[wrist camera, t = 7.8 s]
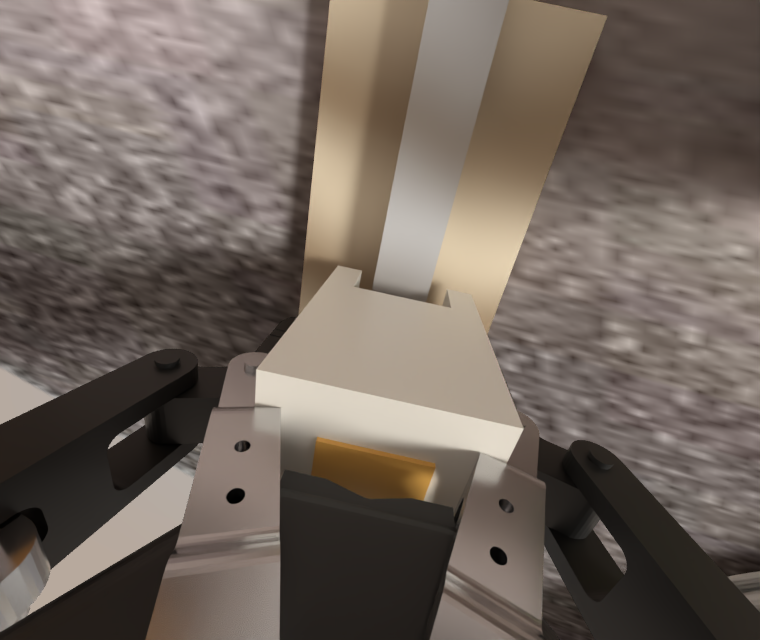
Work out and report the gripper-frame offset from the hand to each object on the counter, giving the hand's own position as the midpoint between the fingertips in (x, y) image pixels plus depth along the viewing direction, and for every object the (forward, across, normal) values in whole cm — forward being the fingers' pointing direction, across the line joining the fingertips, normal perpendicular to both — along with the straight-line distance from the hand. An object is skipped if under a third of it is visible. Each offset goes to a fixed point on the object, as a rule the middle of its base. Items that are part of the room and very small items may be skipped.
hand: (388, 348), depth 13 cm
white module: (+1, 0, 0) cm, 1 cm away
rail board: (+3, 0, -2) cm, 3 cm away
